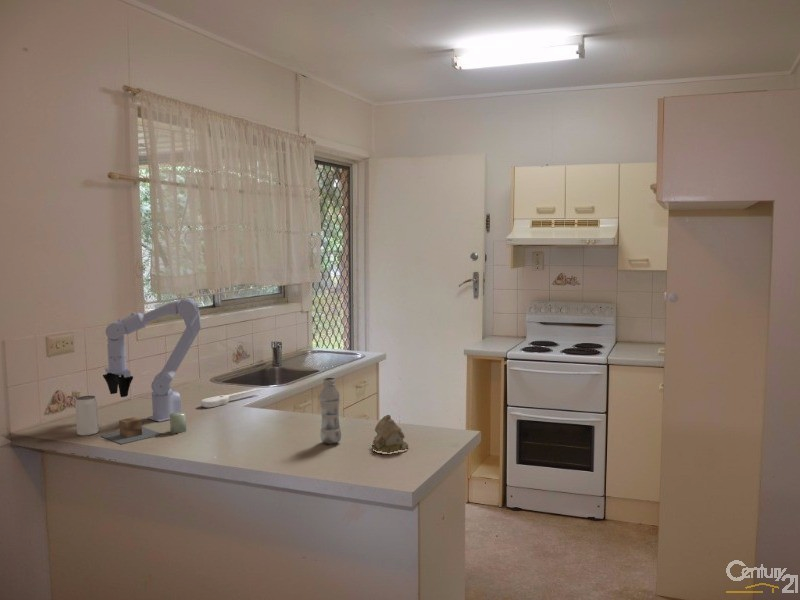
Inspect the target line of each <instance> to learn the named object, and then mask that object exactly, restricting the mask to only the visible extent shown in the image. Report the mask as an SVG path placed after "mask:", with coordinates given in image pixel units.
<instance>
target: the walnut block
mask: <svg viewBox="0 0 800 600" xmlns="http://www.w3.org/2000/svg"><path fill="white" fill-rule="evenodd" d="M118 426H119V432H120V436H123V437H126V438H130V437H134V436H139V435H142V427H143V426H142V419H141V418H138V417H135V416H133V417H128V418H123V419H119V420H118Z"/></svg>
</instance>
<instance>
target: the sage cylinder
mask: <svg viewBox="0 0 800 600" xmlns="http://www.w3.org/2000/svg"><path fill="white" fill-rule="evenodd" d="M186 418H187V417H186V412H184V411H183V412H175V413H171V414H170V419H169V428H170V429H169V430H170V431H169V432H171V433H170V434H172V433H181V434H183V433H182V432H185V431H186V432H187V419H186ZM186 432H185V433H186Z"/></svg>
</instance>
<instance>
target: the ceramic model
mask: <svg viewBox="0 0 800 600" xmlns="http://www.w3.org/2000/svg"><path fill="white" fill-rule="evenodd" d="M374 431H375V433H376V435H375V436H374V439H373V441H372V443H373V444H374V446H373V445H372V450H373V449H374V450H376V451H382V452H387V453H390V452H394V451H398V450H405V449H407V448H408V449H409V444H408V443H407V442H406V441H405V440H404V439H406V438H405V437H406V436H405V434H404V432H403V431H402V428H401V427H400V426H399V425H397V423H396V422H395V420H394V419H391V414H386V415H385V416H383V417H382V418H381V419H379V421H378V422H377V424H376V426H375V429H374Z"/></svg>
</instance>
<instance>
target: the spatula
mask: <svg viewBox="0 0 800 600" xmlns="http://www.w3.org/2000/svg"><path fill="white" fill-rule="evenodd" d="M262 390H263V388H262V387H256V388H253V389H248V390H244V391H239V392H234V393H230V394H226V395H225V394H224V395H223V394H222V395H217V396H211V397H207V398H203V399H201V400H200V406H201V407H203V408H205V409H207V408H215V407H218V406H223V405H228V404H229V399H230V398H231V397H233V396H238V395H243V394H247V393H252V392H256V391H257V392H258V391H262Z"/></svg>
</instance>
